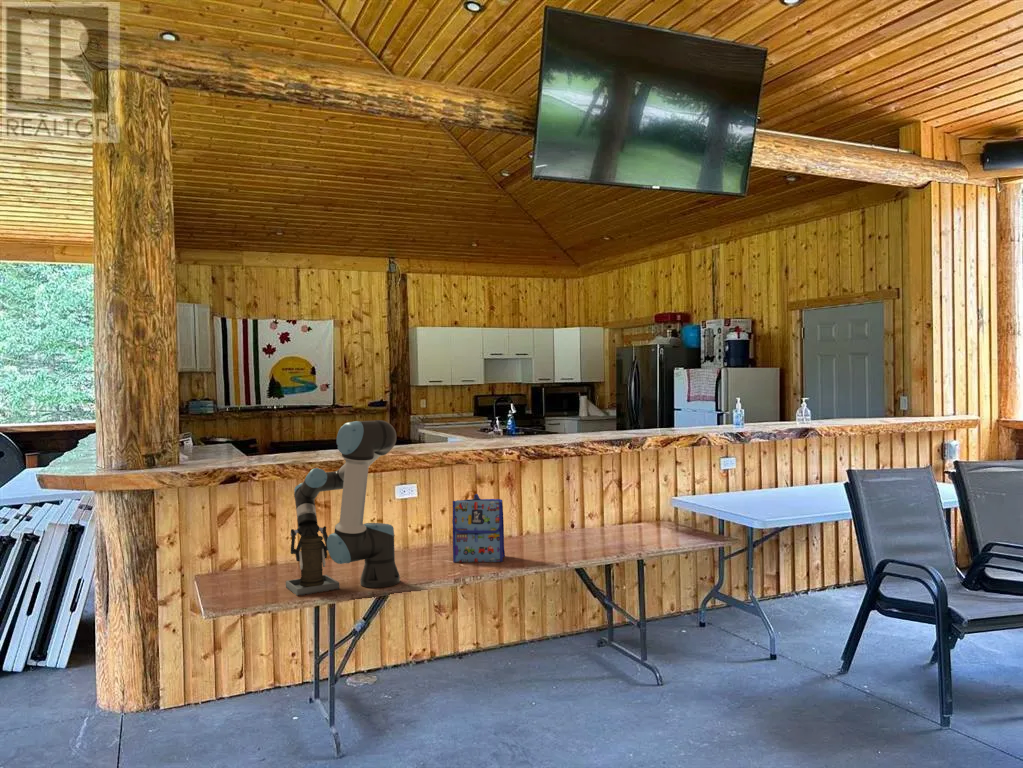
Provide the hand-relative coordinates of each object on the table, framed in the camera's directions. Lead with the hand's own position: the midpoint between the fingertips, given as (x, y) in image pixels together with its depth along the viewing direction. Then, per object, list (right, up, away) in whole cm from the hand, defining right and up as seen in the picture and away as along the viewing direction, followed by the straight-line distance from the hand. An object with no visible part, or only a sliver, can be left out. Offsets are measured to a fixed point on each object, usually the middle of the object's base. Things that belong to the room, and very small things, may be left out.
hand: (312, 566), depth 284 cm
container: (-1, -8, +3) cm, 8 cm away
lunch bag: (+61, -8, +45) cm, 76 cm away
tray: (-1, -9, +3) cm, 10 cm away
